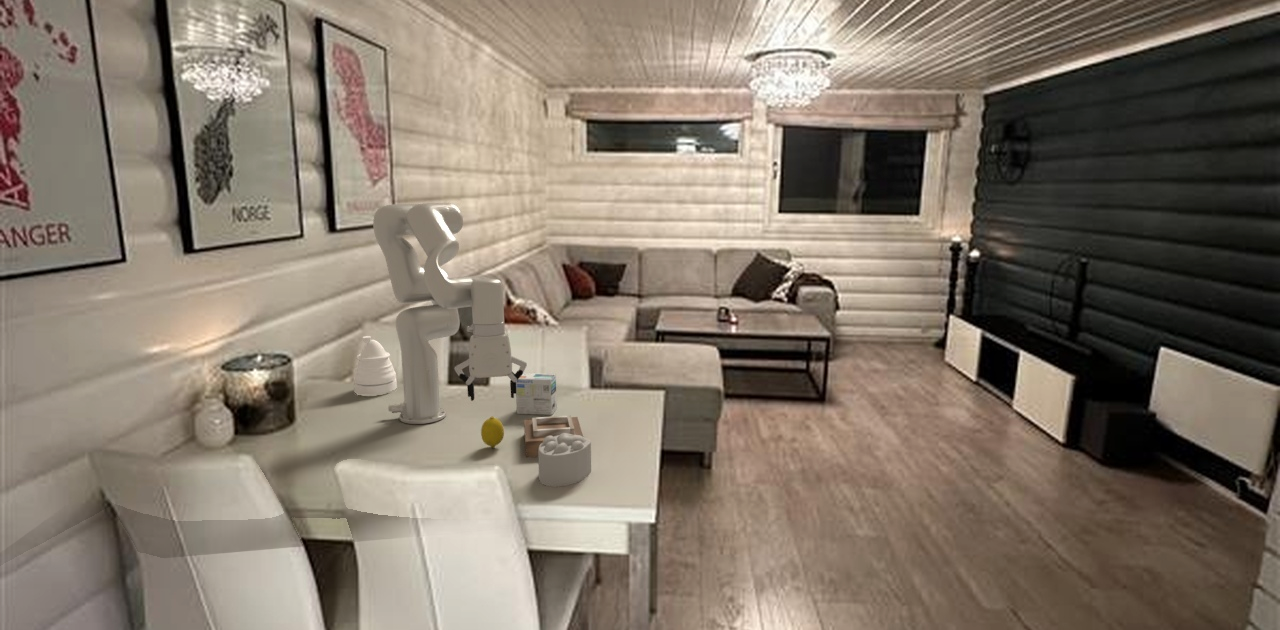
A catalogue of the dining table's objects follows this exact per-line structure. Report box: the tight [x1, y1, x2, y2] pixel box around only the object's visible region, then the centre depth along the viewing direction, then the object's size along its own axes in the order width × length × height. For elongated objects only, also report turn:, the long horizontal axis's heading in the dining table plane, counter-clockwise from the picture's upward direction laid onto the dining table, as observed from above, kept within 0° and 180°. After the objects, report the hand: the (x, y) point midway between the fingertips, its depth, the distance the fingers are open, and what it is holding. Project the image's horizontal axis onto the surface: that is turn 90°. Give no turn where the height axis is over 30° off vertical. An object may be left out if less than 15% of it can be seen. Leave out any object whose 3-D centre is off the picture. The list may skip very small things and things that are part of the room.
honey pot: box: [353, 335, 398, 394], centre depth 220 cm, size 13×13×18 cm
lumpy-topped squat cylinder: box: [538, 433, 592, 488], centre depth 156 cm, size 10×13×9 cm
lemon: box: [480, 416, 505, 449], centre depth 173 cm, size 6×6×8 cm
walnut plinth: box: [523, 415, 584, 458], centre depth 176 cm, size 14×16×6 cm
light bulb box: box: [515, 372, 558, 416], centre depth 201 cm, size 11×7×11 cm, turn 84°
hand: (492, 397), depth 170 cm, fingers open, 9 cm apart
